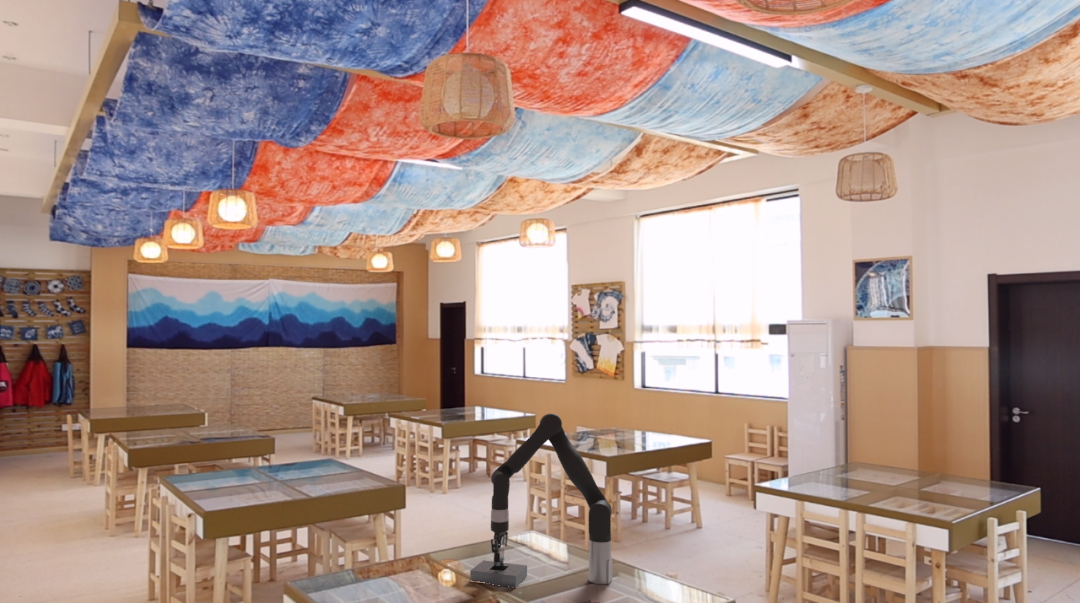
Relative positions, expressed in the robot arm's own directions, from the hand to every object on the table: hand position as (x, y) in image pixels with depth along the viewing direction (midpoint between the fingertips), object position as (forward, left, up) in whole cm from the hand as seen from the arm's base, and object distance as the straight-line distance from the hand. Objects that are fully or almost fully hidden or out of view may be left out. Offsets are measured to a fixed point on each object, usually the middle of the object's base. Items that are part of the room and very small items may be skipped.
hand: (499, 559), depth 314 cm
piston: (0, 0, -2) cm, 2 cm away
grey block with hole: (0, 0, -8) cm, 8 cm away
